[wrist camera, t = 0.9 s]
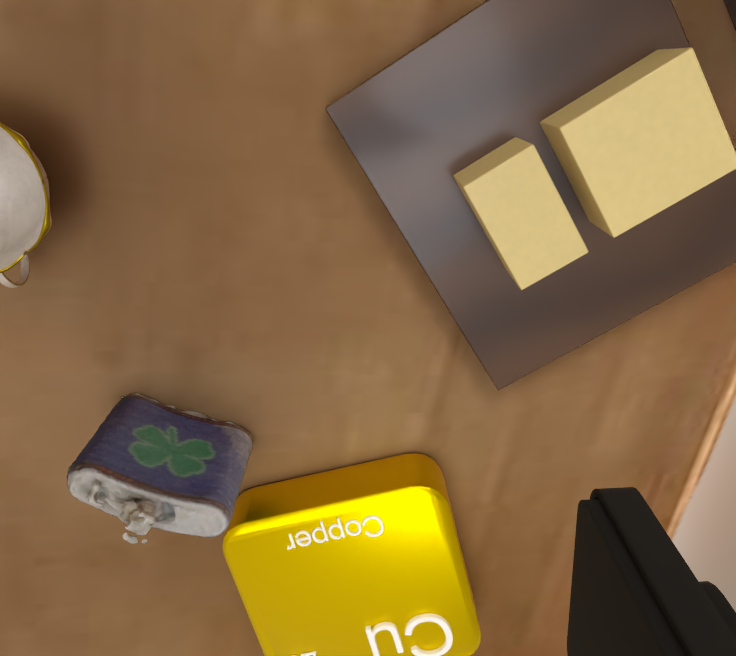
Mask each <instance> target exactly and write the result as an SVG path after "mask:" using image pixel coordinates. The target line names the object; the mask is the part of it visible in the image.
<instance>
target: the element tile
mask: <svg viewBox="0 0 736 656" xmlns="http://www.w3.org/2000/svg"><path fill="white" fill-rule="evenodd" d="M223 553H224V557H225V559H226V562H227V564H228V566H229V569H230V571H231V574H232V576H233V579H234V581H235V584H236V586H237V589H238V591H239V594H240V596H241V599H242V601H243V604H244V606H245V609H246V611H247V613H248V616H249V618H250V621H251V623H252V626H253V628H254V631H255V633H256V636H257V638H258V641H259V643H260V646H261V648H262V651H263V653H264V655H265V656H470V655H472V654H473V653H474V652H475V651H476V650H477V648H478V647H479V643H480V640H481V630H480V626H479V621H478V617H477V612H476V607H475V603H474V598H473V594H472V590H471V586H470V582H469V577H468V573H467V569H466V565H465V561H464V557H463V553H462V549H461V545H460V541H459V537H458V533H457V529H456V525H455V520H454V516H453V512H452V508H451V504H450V500H449V496H448V492H447V488H446V484H445V480H444V476H443V473H442V471H441V469H440V467H439V466H438V464H437V463H436V462H435V461H434V460H433V459H432V458H430V457H428V456H426V455H424V454H416V453H410V454H402V455H398V456H393V457H389V458H384V459H380V460H375V461H371V462H366V463H362V464H357V465H353V466H348V467H344V468H339V469H335V470H330V471H326V472H321V473H317V474H312V475H308V476H303V477H299V478H294V479H290V480H285V481H281V482H276V483H272V484H267V485H263V486H258V487H254V488H251V489H249V490H247V491H245V492H244V493H242V494H241V495H239V496H238V497H237V499H236V501H235V506H234V510H233V515H232V519H231V521H230V523H229V526H228V528H227V529H226V530H225V534H224V537H223Z"/></svg>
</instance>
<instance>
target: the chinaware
mask: <svg viewBox="0 0 736 656" xmlns="http://www.w3.org/2000/svg"><path fill="white" fill-rule="evenodd" d="M46 176H47V175H46V172H45V170H44V168H43V166H42V164H41V162H40V160H39V159H38V157H37V156H36V155H35V153H34V152H33V151H32V150H31V148H30V146H29V143H28V142H27V140H26V139H25V138H24V137H23V136H22V135H21V134H19V133H18V132H15V131H13V130H12V129H10V128H9V127H7V126H6V125H4V124H2V123H0V283H1V284H3V285H4V286H6V287H10V288H15V287H20V286H22V285H23V284H24V283H25V282H26V281H27V279H28V276H29V259H28V256H27V253H26V252H28V253H29V252H30V251H31V250H33V249H34V248H35V247H36V246H37V245H38V244H39V243H40V242H41V241H42V240H43V238H44V236H45V235H46V234H47V233H48V232H49V230H50V228H51V225H52V218H51V215H50V203H49V200H50V191H49V183H48V178H46ZM20 260H21V274H20V277H19V279H18V281H17V282H16V283H14V282H12V281H11V280H9V279H8V278H7V277H6V276H5V275H4V273H3V272H4V271H7V270H8V269H10V268H12V267H13V266H14V265H15V264H16V263H18V262H19V261H20Z"/></svg>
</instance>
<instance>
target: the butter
mask: <svg viewBox="0 0 736 656" xmlns="http://www.w3.org/2000/svg"><path fill="white" fill-rule="evenodd" d="M540 125H541V127H542V129H543V131H544V133H545V135H546V136H547V138H548V140H549V142H550V144H551V146H552V148H553V150H554V152H555V154H556V156H557V158H558V160H559V162H560V164H561V166H562V168H563V170H564V172H565V174H566V176H567V178H568V180H569V182H570V184H571V186H572V188H573V190H574V192H575V194H576V196H577V198H578V200H579V202H580V204H581V206H582V208H583V210H584V212H585V214H586V216H587V218H588V220H589V221H590V222H591V223H593V224H594V225H596V226H597V227H599V228H600V229H602V230H603V231H605V232H606V233H608V234H609V235H611V236H612V237H614V238H615V237H617V236H618V235H620V234H622V233H624V232H625V231H627V230H629V229H631V228H632V227H634V226H636V225H638V224H640V223H641V222H643V221H645V220H647V219H648V218H650V217H652V216H654V215H655V214H657V213H659V212H661V211H662V210H664V209H666V208H668V207H669V206H671V205H673V204H675V203H677V202H678V201H680V200H682V199H684V198H685V197H687V196H689V195H691V194H692V193H694V192H696V191H698V190H699V189H701V188H703V187H705V186H706V185H708V184H710V183H712V182H714V181H715V180H717V179H719V178H721V177H722V176H724V175H726V174H728V173H729V172H731V171H733V170H735V169H736V152H735V150H734V147H733V145H732V143H731V140H730V138H729V135H728V133H727V130H726V128H725V125H724V123H723V121H722V118H721V116H720V113H719V111H718V108H717V106H716V103H715V101H714V99H713V96H712V94H711V91H710V89H709V86H708V84H707V81H706V79H705V77H704V74H703V72H702V69H701V67H700V64H699V62H698V59H697V57H696V55H695V52H694V50H693V48H676V49H659V50H656V51H654V52H653V53H651V54H649V55H648V56H646V57H645V58H643V59H641V60H640V61H638V62H636V63H635V64H633V65H632V66H630V67H628V68H627V69H625V70H623V71H622V72H620V73H619V74H617V75H615V76H614V77H612V78H610V79H609V80H607V81H606V82H604V83H602V84H601V85H599V86H597V87H596V88H594V89H593V90H591V91H589V92H588V93H586V94H584V95H583V96H581V97H580V98H578V99H576V100H575V101H573V102H571V103H570V104H568V105H567V106H565V107H563V108H562V109H560V110H558V111H557V112H555V113H553V114H552V115H550V116H549V117H547V118H545V119H544V120H542V121H541V122H540Z"/></svg>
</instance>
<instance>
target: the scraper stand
mask: <svg viewBox="0 0 736 656" xmlns="http://www.w3.org/2000/svg"><path fill="white" fill-rule="evenodd" d="M724 1H725V3H726V6H727V8H728V11H729V14H730V16H731V19H732V22H733V24H734V27H735V29H736V0H724Z"/></svg>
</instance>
